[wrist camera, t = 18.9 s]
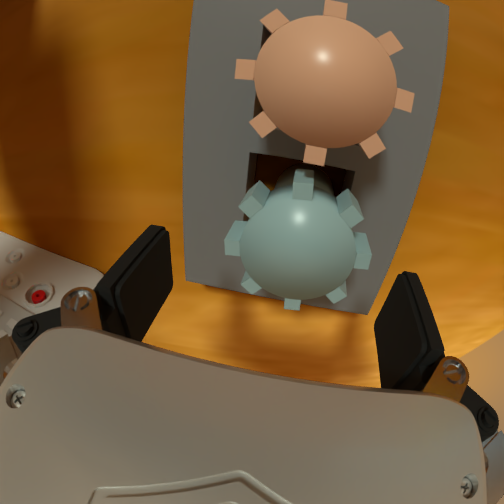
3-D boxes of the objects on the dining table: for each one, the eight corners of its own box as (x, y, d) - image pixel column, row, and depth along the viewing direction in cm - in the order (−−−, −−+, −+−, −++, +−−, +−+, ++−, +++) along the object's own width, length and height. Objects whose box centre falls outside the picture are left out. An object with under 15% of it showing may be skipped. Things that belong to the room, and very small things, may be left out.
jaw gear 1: (272, 28, 14) (244, -9, 7) (377, 48, 13) (422, 26, 6) (261, 124, 17) (228, 151, 11) (362, 142, 17) (394, 182, 10)
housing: (215, -22, 12) (199, -36, 9) (430, 15, 10) (448, 6, 8) (198, 258, 24) (185, 280, 22) (363, 289, 23) (367, 314, 20)
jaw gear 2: (256, 142, 18) (221, 177, 12) (357, 150, 17) (384, 192, 10) (256, 230, 22) (228, 301, 15) (345, 239, 21) (354, 316, 14)
